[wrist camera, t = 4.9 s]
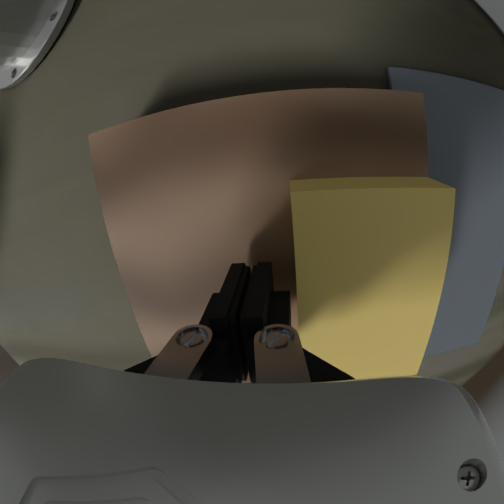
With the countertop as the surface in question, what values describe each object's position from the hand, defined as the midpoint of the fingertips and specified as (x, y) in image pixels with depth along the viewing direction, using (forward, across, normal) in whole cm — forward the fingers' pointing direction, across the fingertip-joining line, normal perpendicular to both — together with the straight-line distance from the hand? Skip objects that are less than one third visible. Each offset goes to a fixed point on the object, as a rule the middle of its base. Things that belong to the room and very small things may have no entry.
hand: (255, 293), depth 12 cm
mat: (+5, -13, 0) cm, 14 cm away
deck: (+5, 0, 0) cm, 5 cm away
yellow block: (+1, -5, 0) cm, 5 cm away
